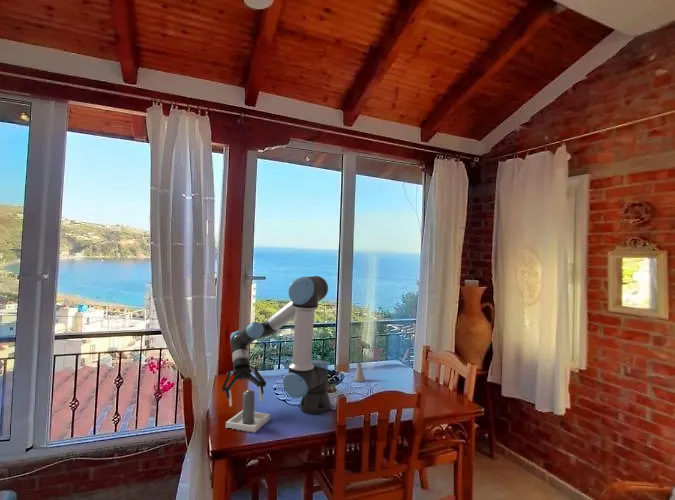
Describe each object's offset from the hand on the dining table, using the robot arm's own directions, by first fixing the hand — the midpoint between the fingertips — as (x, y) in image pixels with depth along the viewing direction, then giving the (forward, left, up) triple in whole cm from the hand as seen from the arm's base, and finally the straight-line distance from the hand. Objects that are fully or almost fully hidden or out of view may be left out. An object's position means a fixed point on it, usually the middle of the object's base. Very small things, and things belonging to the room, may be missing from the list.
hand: (246, 403), depth 182 cm
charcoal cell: (-3, +3, -7) cm, 8 cm away
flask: (-35, -71, -8) cm, 79 cm away
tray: (-3, +3, -8) cm, 9 cm away
